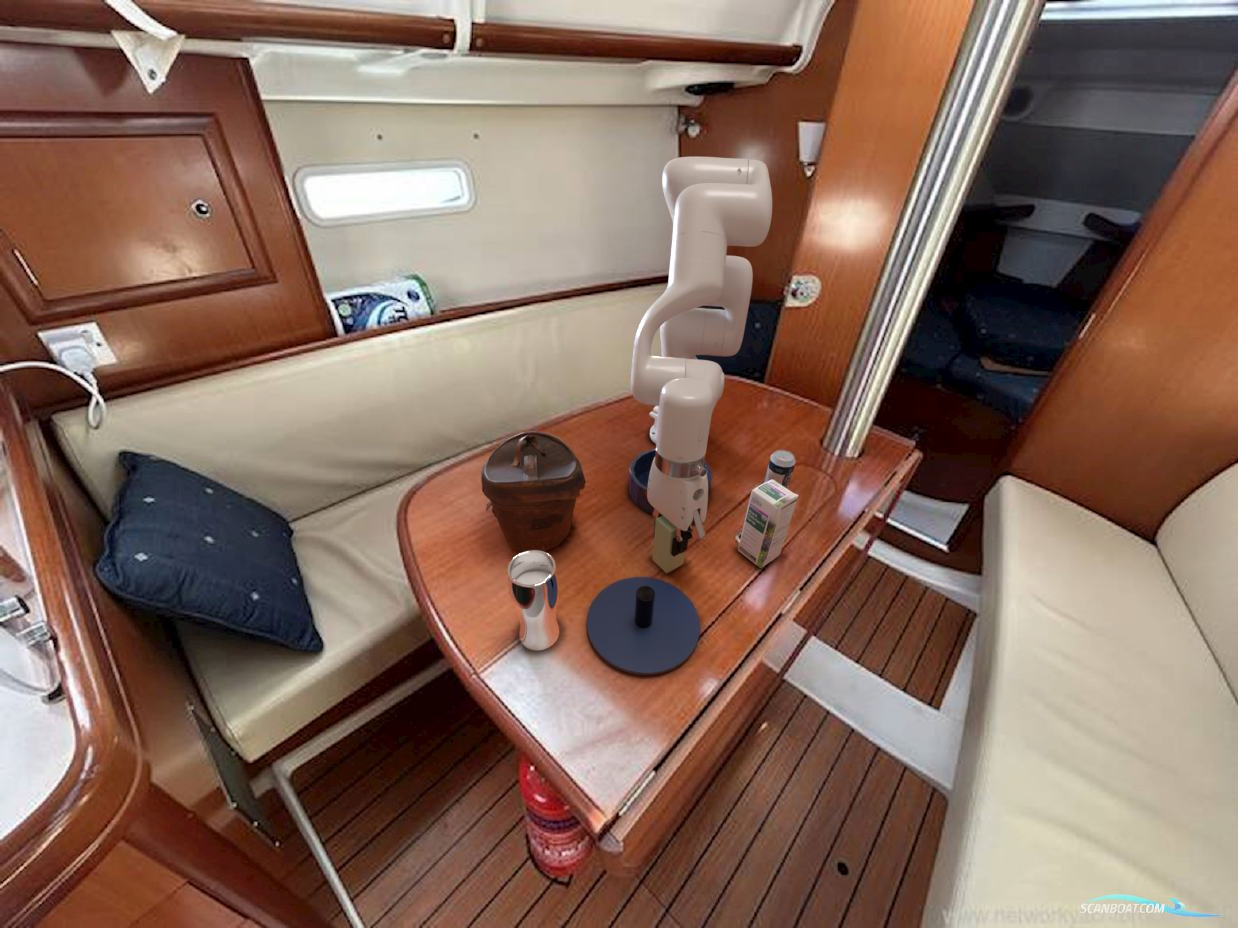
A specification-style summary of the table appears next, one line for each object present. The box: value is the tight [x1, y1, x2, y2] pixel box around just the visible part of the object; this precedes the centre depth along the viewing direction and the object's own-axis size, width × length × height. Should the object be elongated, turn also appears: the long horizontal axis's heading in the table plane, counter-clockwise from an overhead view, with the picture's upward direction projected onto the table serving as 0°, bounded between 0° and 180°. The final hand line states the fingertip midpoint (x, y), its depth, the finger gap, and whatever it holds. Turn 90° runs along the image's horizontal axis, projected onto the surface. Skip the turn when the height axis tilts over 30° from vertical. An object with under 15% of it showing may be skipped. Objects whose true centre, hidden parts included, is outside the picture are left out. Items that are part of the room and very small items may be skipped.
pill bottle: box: [763, 449, 797, 490], centre depth 100 cm, size 5×5×12 cm
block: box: [652, 515, 686, 574], centre depth 87 cm, size 4×4×10 cm
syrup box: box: [737, 479, 799, 569], centre depth 88 cm, size 6×6×14 cm
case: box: [480, 430, 587, 552], centre depth 91 cm, size 18×20×18 cm
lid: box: [586, 576, 701, 676], centre depth 77 cm, size 18×18×8 cm
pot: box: [628, 448, 713, 515], centre depth 104 cm, size 17×17×5 cm
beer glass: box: [506, 550, 560, 652], centre depth 73 cm, size 7×7×15 cm
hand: (670, 543), depth 87 cm, fingers closed on block, 4 cm apart
